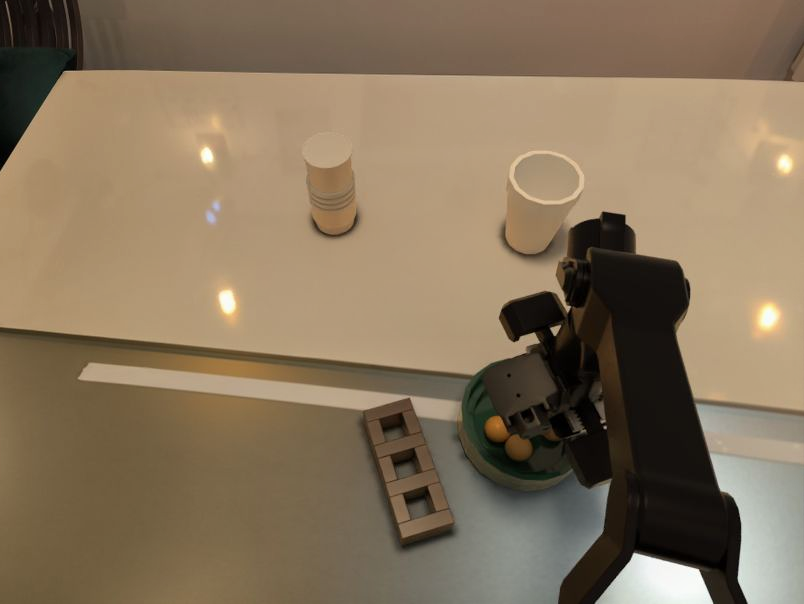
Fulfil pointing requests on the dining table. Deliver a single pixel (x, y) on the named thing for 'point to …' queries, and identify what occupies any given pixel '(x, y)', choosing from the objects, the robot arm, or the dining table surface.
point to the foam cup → (540, 198)
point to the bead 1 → (496, 429)
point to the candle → (330, 181)
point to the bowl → (492, 457)
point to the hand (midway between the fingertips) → (548, 412)
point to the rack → (412, 485)
